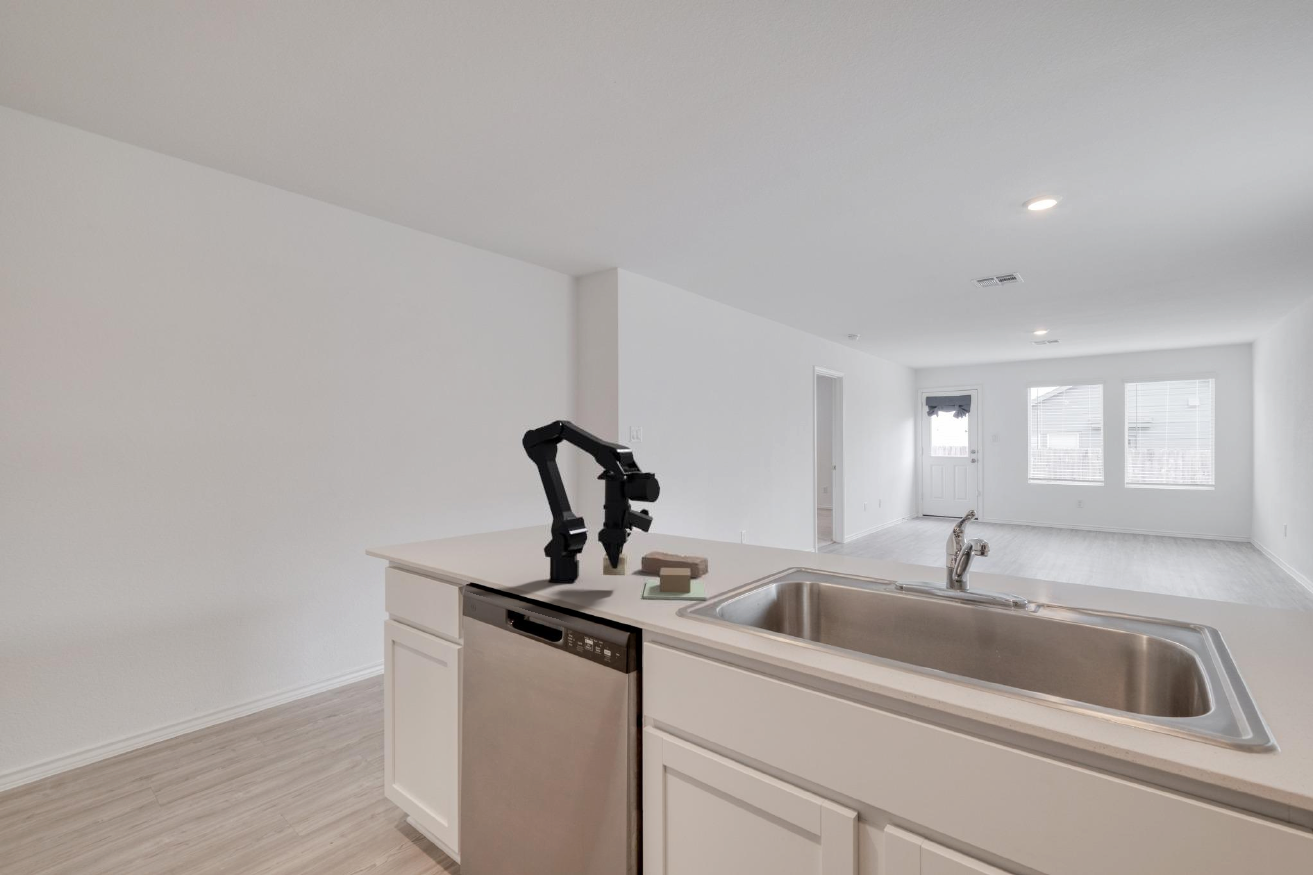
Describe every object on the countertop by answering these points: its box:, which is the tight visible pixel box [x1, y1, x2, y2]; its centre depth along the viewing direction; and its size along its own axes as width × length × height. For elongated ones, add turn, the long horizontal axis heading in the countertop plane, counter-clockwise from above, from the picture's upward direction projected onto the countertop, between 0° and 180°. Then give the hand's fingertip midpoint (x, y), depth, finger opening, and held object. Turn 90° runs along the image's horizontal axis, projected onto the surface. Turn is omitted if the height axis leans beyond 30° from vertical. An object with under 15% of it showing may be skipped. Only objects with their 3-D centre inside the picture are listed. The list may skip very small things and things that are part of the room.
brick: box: [640, 550, 709, 579], centre depth 155 cm, size 17×8×5 cm, turn 67°
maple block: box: [602, 553, 628, 576], centre depth 136 cm, size 5×5×4 cm
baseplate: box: [642, 568, 707, 601], centre depth 135 cm, size 14×14×5 cm
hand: (616, 566), depth 136 cm, fingers closed on maple block, 5 cm apart
